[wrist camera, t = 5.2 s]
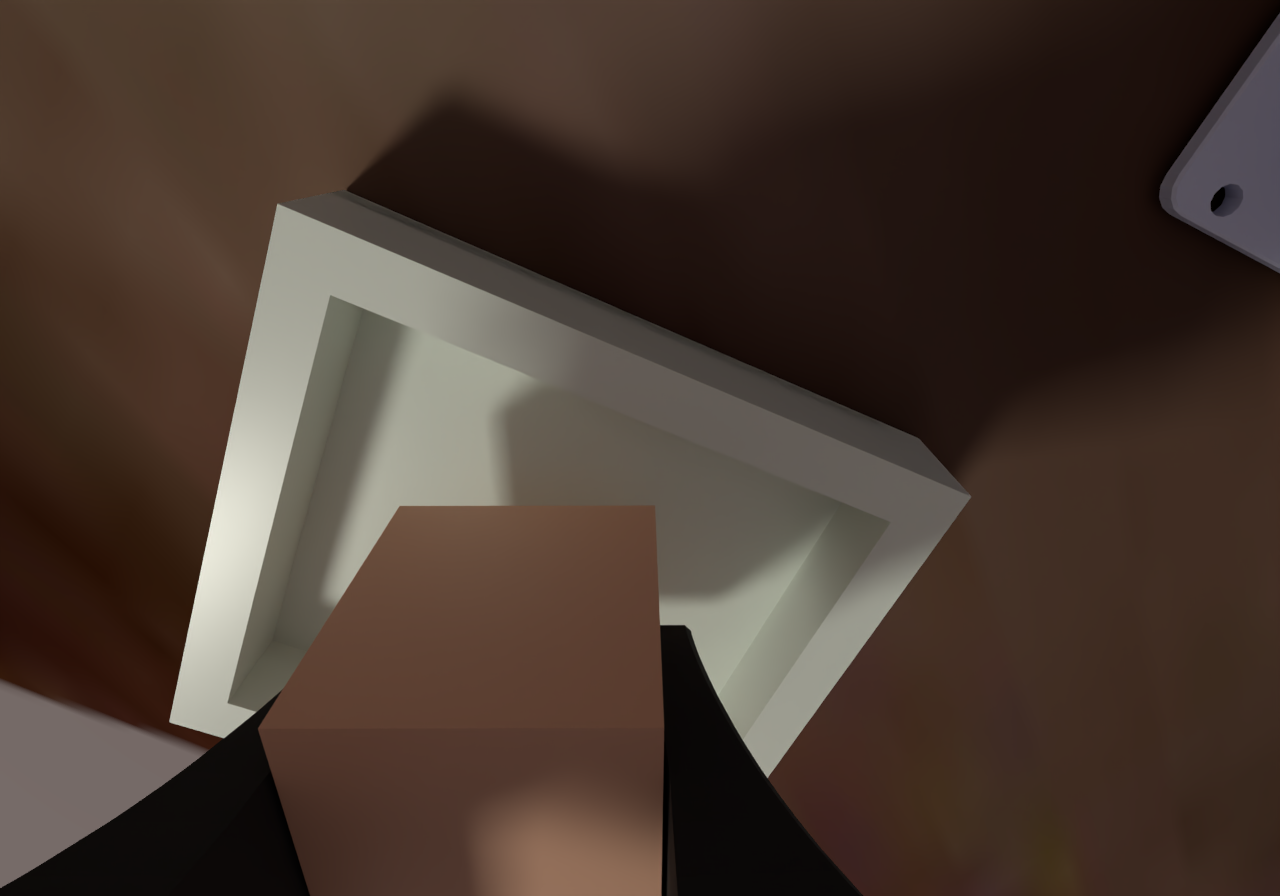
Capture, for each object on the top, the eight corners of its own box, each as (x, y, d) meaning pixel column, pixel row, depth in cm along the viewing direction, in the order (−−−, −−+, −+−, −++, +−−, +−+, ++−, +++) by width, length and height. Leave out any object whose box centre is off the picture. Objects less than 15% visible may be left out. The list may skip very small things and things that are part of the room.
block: (654, 504, 12) (664, 727, 8) (653, 698, 14) (659, 969, 10) (399, 505, 12) (258, 727, 8) (431, 699, 14) (333, 970, 10)
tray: (918, 438, 14) (971, 496, 12) (690, 783, 19) (696, 875, 16) (344, 190, 12) (277, 203, 10) (234, 640, 17) (169, 722, 14)
